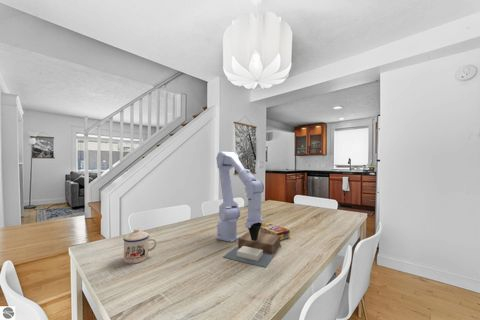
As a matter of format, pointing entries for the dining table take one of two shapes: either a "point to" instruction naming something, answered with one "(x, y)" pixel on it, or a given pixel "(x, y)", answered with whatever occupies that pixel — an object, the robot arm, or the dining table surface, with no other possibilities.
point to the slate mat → (261, 262)
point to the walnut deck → (260, 242)
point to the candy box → (275, 230)
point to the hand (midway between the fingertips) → (254, 240)
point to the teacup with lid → (137, 246)
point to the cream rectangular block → (250, 253)
